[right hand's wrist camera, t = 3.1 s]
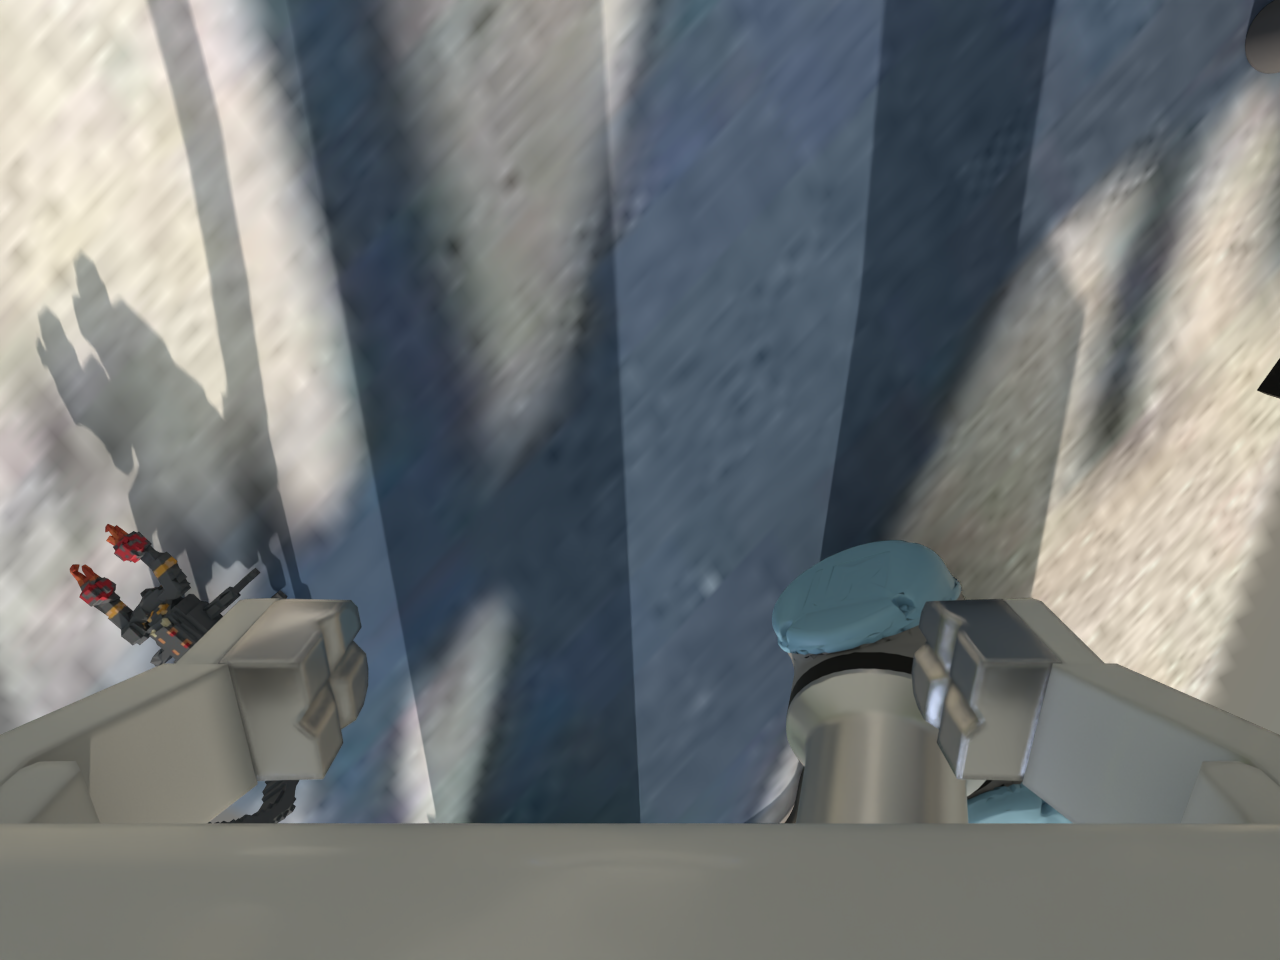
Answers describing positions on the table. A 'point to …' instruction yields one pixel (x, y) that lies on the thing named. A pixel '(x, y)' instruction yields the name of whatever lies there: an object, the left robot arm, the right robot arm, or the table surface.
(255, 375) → the table surface
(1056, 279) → the table surface
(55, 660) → the table surface
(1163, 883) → the right robot arm
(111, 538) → the toy
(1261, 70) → the dark gray cylinder
